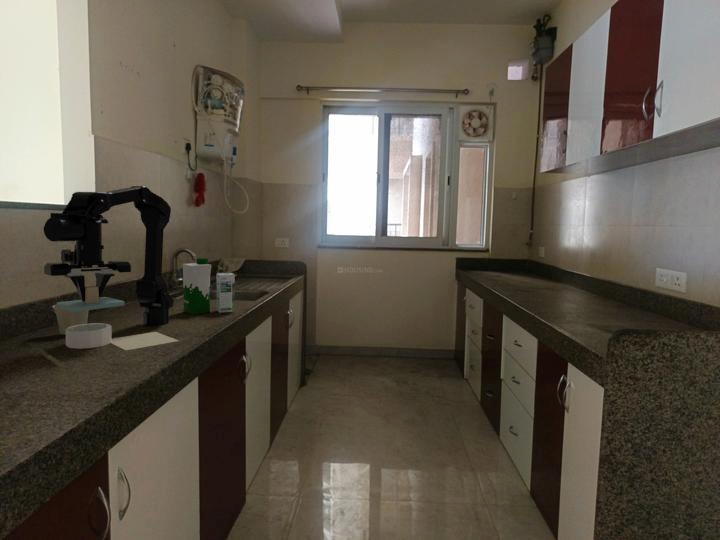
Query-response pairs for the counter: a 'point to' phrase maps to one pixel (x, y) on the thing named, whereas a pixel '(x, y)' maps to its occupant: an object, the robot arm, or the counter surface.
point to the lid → (90, 301)
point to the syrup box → (225, 292)
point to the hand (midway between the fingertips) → (90, 300)
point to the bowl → (88, 335)
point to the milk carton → (196, 286)
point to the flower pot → (69, 318)
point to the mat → (141, 340)
